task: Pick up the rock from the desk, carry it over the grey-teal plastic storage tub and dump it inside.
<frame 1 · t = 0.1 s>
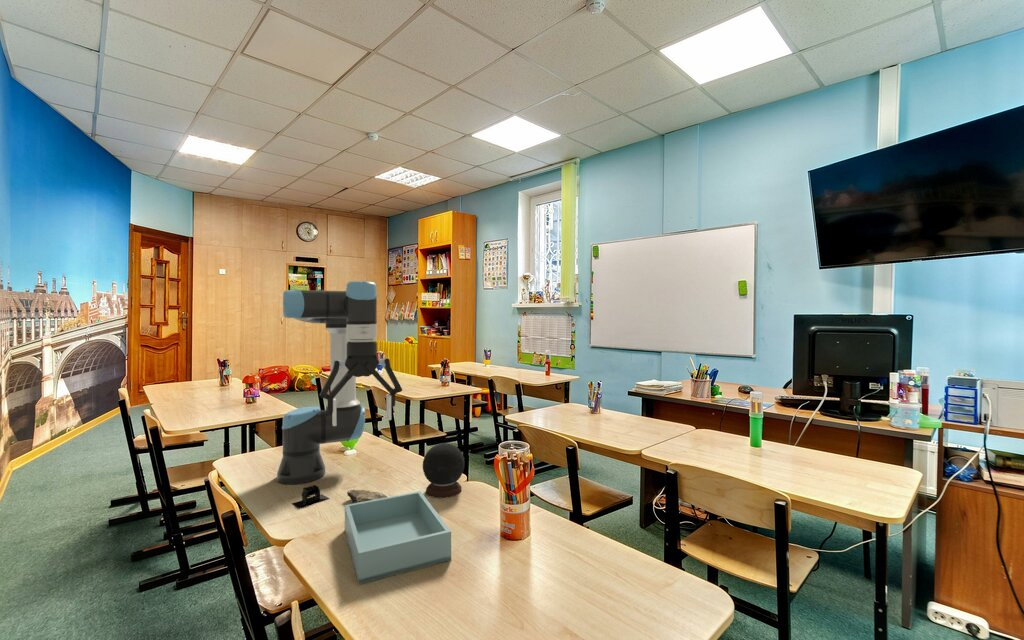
hand: (362, 422, 114), 28 cm above the table, fingers open, 13 cm apart
build plate: (311, 503, 132), on the table
rock: (373, 507, 129), on the table
storage tub: (394, 544, 107), on the table
black globe on stand: (443, 491, 139), on the table
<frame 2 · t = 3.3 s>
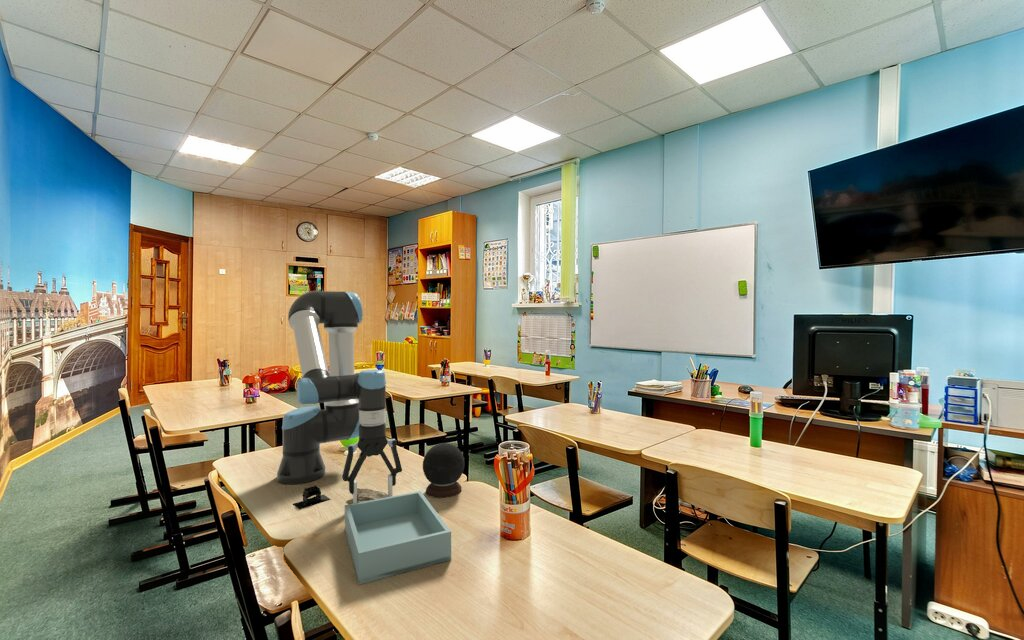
hand: (372, 500, 128), 2 cm above the table, fingers closed on rock, 9 cm apart
rock: (374, 506, 129), on the table, touching gripper
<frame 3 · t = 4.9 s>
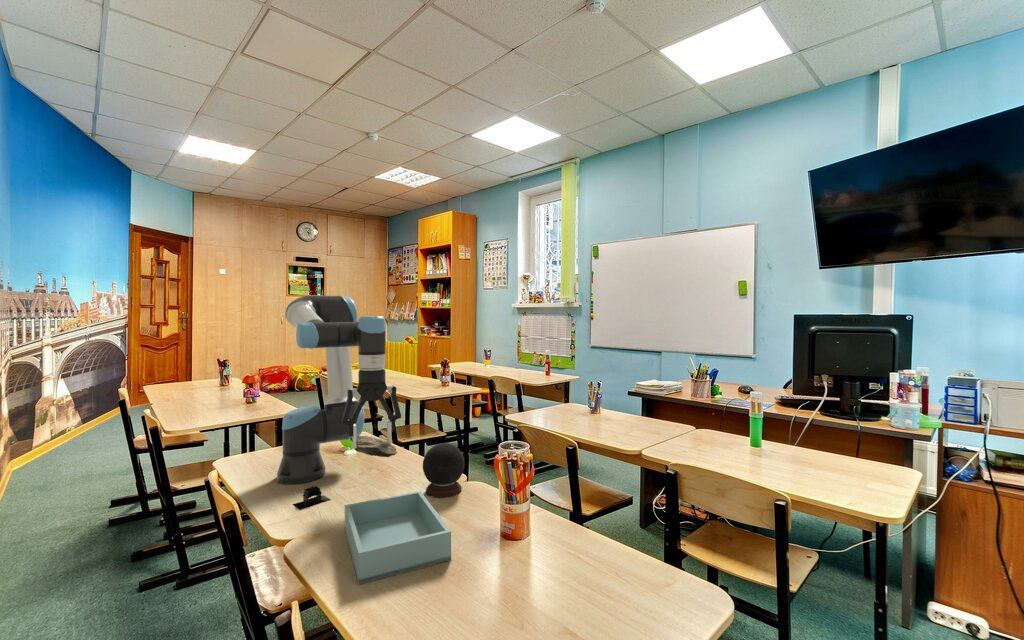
hand: (372, 445, 129), 18 cm above the table, fingers closed on rock, 9 cm apart
rock: (374, 451, 130), point 15 cm above the table, touching gripper
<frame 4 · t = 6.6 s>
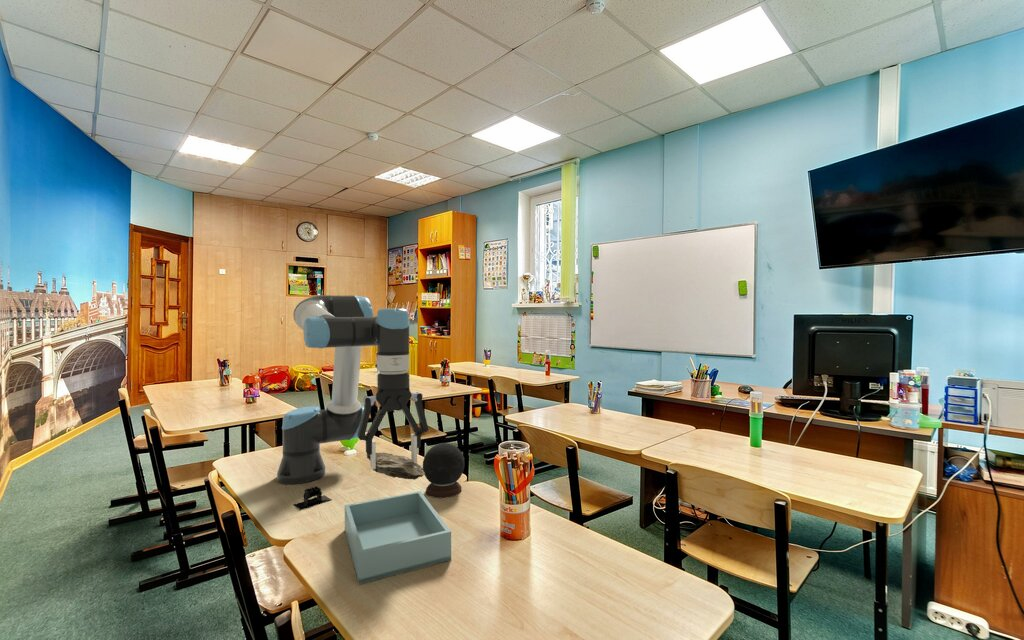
hand: (394, 464, 107), 19 cm above the table, fingers closed on rock, 9 cm apart
rock: (396, 472, 107), point 17 cm above the table, touching gripper
when the fingers open (7 cm above the table, at t = 9.3 s): rock drops 4 cm, resting on storage tub.
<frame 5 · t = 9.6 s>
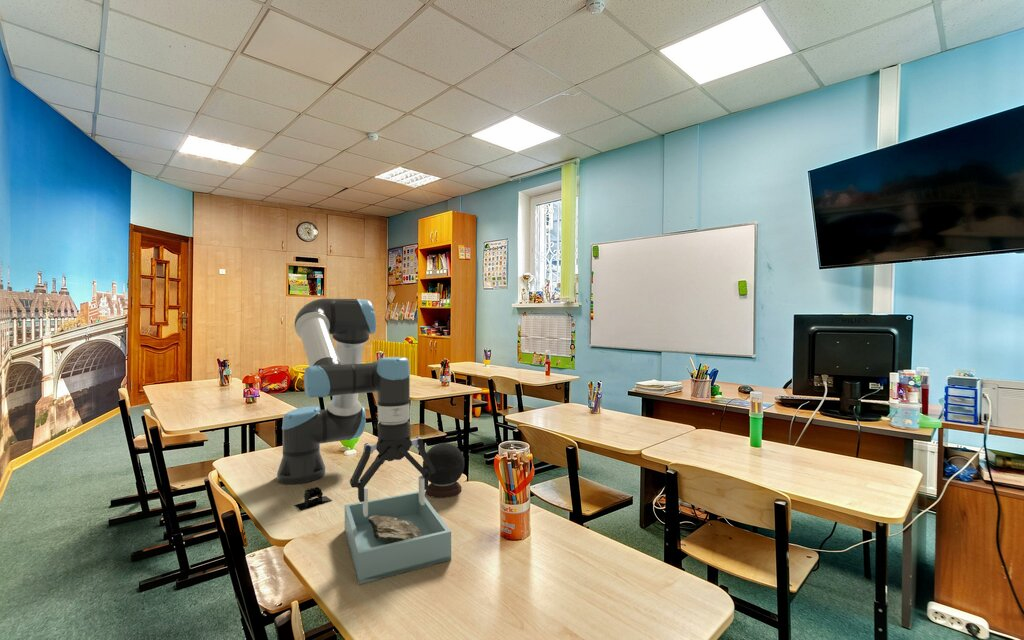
hand: (394, 508, 107), 9 cm above the table, fingers open, 13 cm apart
rock: (397, 538, 108), point 1 cm above the table, touching storage tub
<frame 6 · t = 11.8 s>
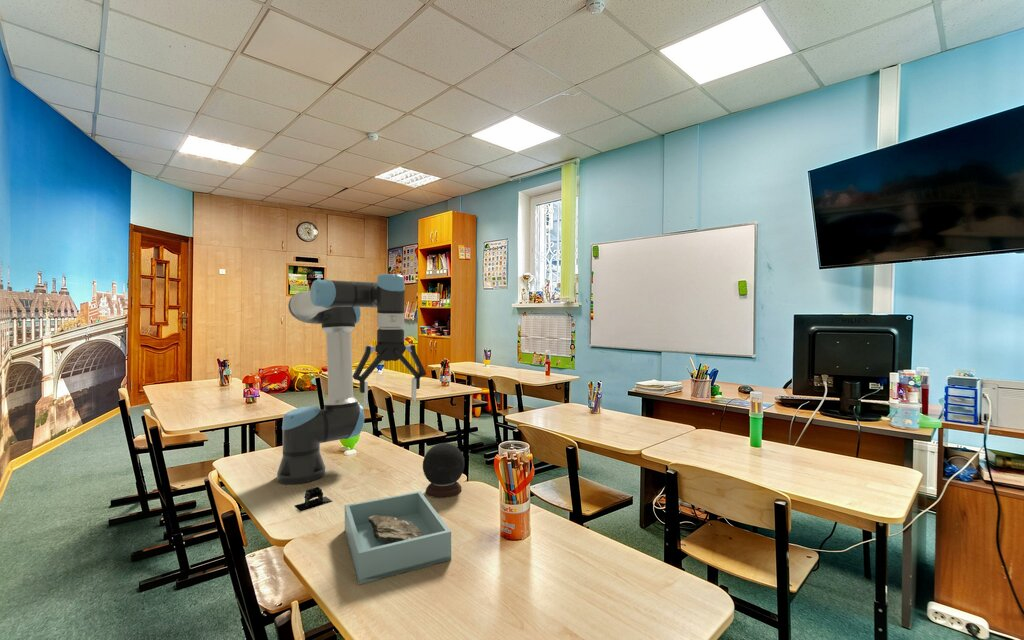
hand: (390, 402, 126), 31 cm above the table, fingers open, 13 cm apart
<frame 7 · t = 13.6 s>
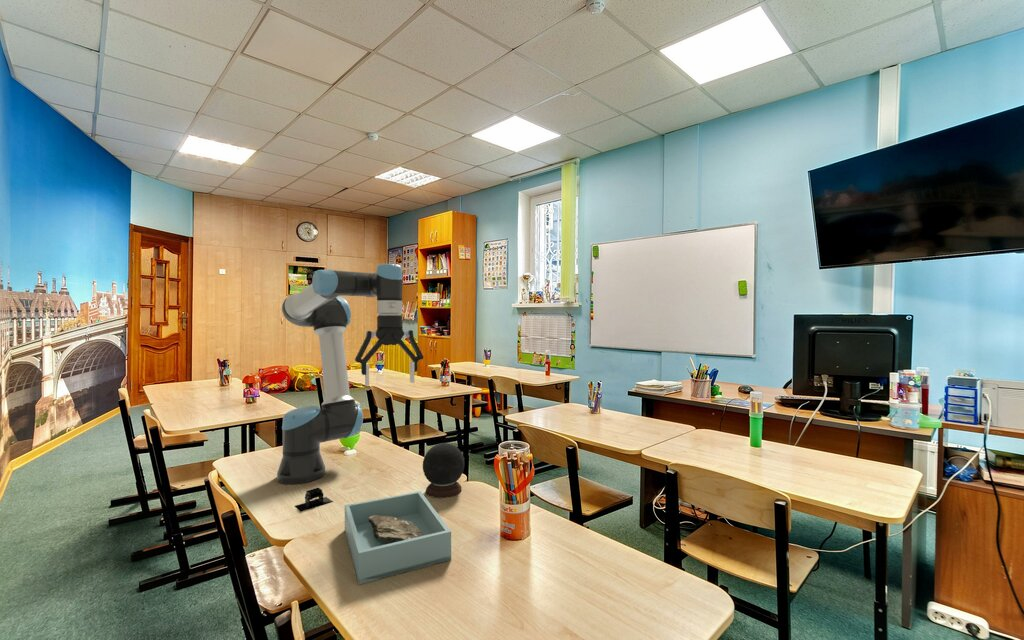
hand: (390, 384, 134), 35 cm above the table, fingers open, 13 cm apart
at the end: rock inside the target area on the storage tub (1.2 cm from its centre), point 0.8 cm above the storage tub's base; the gripper is holding nothing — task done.
